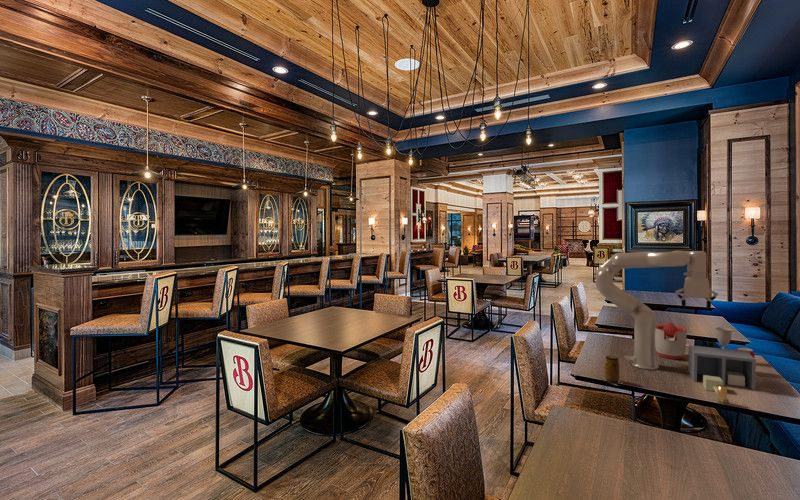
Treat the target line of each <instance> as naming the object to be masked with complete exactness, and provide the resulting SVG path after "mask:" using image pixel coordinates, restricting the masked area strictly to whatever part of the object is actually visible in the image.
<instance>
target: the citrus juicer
mask: <svg viewBox="0 0 800 500" xmlns="http://www.w3.org/2000/svg"><path fill="white" fill-rule="evenodd" d="M687 331H688V329H687V328H685V327H682V326H678V325H674V324H673V323H672V322H668V323H667V324H656V331H655V353H657V355H658V356H659V357H662V358H665V359H670V360H681V359H683V358H684V355H685V352H686V350H687V349H686V348H687Z"/></svg>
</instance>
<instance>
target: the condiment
mask: <svg viewBox="0 0 800 500" xmlns="http://www.w3.org/2000/svg"><path fill="white" fill-rule="evenodd" d="M604 379H606V380H607V381H608V382H607V383H608V384H610V385H614V386H618V385H617V384H619V383H620V382H619V383H618V381H620V362H619V357H618V356H616V355H610V354H609V355H606V356H605V361H604Z"/></svg>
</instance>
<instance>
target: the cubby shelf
mask: <svg viewBox="0 0 800 500" xmlns="http://www.w3.org/2000/svg"><path fill="white" fill-rule="evenodd" d="M756 364H757V359H756V357H755V358H753V357H752V356H751V355H750V354H749V353H748V352H746V351H740V350H738V349H729V348H725V349H722V347H721V348H719V347H710V346H702V345H691V344H689V345H688V364H687V365H688V371H687V372H688V375H690V378H691V379H692V381H693V382H695V383H697V381H698V375H702V376H703V375H707V376H715V377H720V378H721V379H722V381H723V386H726V381H725V371H733V372H741V373H742V374H743V375H744V376H745V385H747V386H748V388H750V389H751V391H756V377H757V376H756V375H757V373H756V370H757V369H756V368H757V365H756Z"/></svg>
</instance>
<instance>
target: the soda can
mask: <svg viewBox="0 0 800 500" xmlns="http://www.w3.org/2000/svg"><path fill="white" fill-rule="evenodd" d="M737 350H740V351H746V352H748V353H749V354H750V355H751V356H752V357H753V358H755V359H756V357H755V355H756V354H755V353H754V350H753V349H751V348H748V347H737Z"/></svg>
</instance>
